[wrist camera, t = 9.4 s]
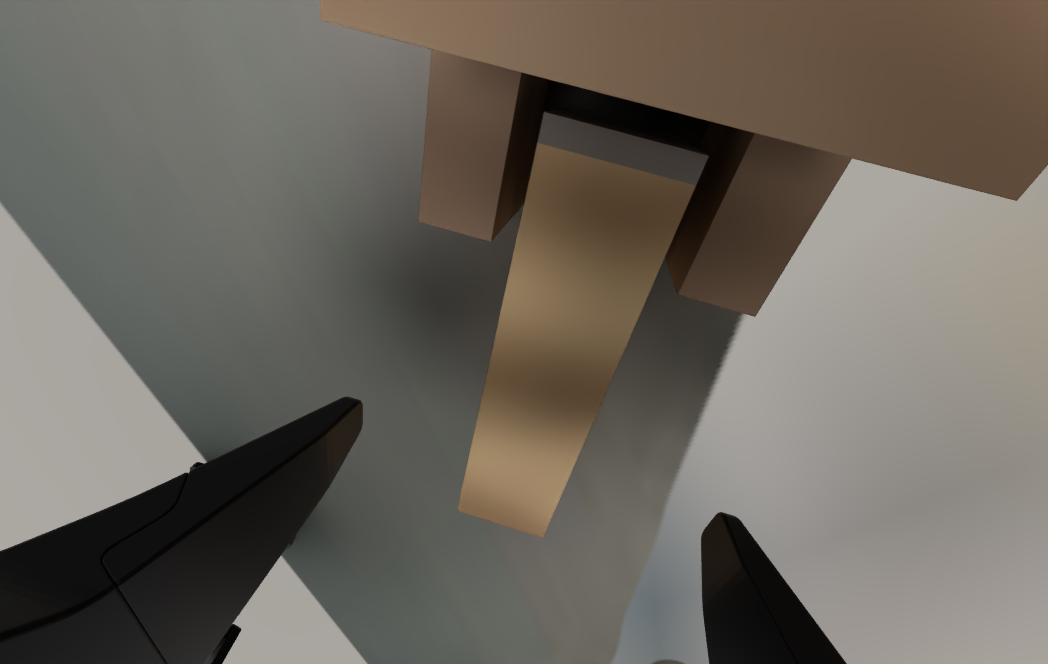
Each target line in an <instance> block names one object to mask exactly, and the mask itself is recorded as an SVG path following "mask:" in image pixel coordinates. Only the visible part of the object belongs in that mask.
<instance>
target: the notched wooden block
mask: <svg viewBox="0 0 1048 664" xmlns="http://www.w3.org/2000/svg"><path fill="white" fill-rule="evenodd" d="M320 7H321V20H322V21H326V22H330V23H334V24H337V25H341V26H345V27H349V28H352V29H356V30H360V31H364V32H368V33H372V34H375V35H379V36H383V37H387V38H391V39H395V40H398V41H402V42H406V43H410V44H414V45H418V46H422V47H425V48H429V49H432V54H431V67H430V79H429V92H428V105H427V118H426V130H425V143H424V156H423V168H422V181H421V194H420V207H419V219H418V222H422V223H426V224H429V225H433V226H436V227H440V228H443V229H447V230H450V231H454V232H457V233H461V234H464V235H468V236H472V237H475V238H479V239H482V240H486V241H489V242H491V241H492V240H493V239H494V237H495V236H496V235H497V234H498V233H499V232H500V230H501V229H502V228H503V227H504V226H505V225H506V223H507V222H508V221H509V220H510V219H511V218H512V216H513V215H514V214H515V213H516V212H517V211H518V209H519V208H520V207H521V206H522V205H523V203H524V199H525V194H526V189H527V185H528V180H529V176H530V171H531V166H532V162H533V157H534V152H535V148H536V143H537V138H538V134H539V129H540V124H541V120H542V115H543V110H544V106H545V101H546V97H547V92H548V87H549V83H550V80H553V81H556V82H560V83H564V84H568V85H572V86H576V87H579V88H583V89H587V90H591V91H595V92H599V93H603V94H606V95H610V96H614V97H618V98H622V99H626V100H630V101H633V102H637V103H641V104H645V105H649V106H653V107H657V108H660V109H664V110H668V111H672V112H676V113H680V114H683V115H687V116H691V117H695V118H699V119H703V120H707V121H710V124H709V126H708V128H707V131H706V133H705V136H704V138H703V140H702V143H701V145H700V148H699V150H700V151H702V152H703V153H705V154H707V155H708V156H709V157H708V159H707V161H706V164H705V166H704V168H703V170H702V173H701V175H700V177H699V180H698V182H697V184H696V187H695V189H694V191H693V194H692V196H691V198H690V200H689V203H688V205H687V207H686V210H685V212H684V214H683V217H682V219H681V221H680V223H679V226H678V228H677V230H676V233H675V235H674V237H673V240H672V242H671V244H670V246H669V249H668V251H667V253H666V256H665V257H666V260H667V263H668V266H669V269H670V272H671V275H672V278H673V282H674V285H675V288H676V291H677V294H678V295H680V296H684V297H687V298H691V299H694V300H698V301H701V302H705V303H709V304H712V305H716V306H719V307H723V308H726V309H730V310H733V311H737V312H740V313H744V314H747V315H751V316H754V317H755V316H756V315H757V313H758V311H759V310H760V308H761V306H762V305H763V303H764V302H765V300H766V298H767V297H768V295H769V293H770V292H771V290H772V289H773V287H774V285H775V283H776V282H777V280H778V278H779V277H780V275H781V274H782V272H783V271H784V269H785V267H786V266H787V264H788V262H789V261H790V259H791V257H792V256H793V254H794V253H795V251H796V249H797V247H798V246H799V244H800V243H801V241H802V239H803V238H804V236H805V235H806V233H807V231H808V229H809V228H810V226H811V225H812V223H813V221H814V220H815V218H816V217H817V215H818V213H819V211H820V210H821V208H822V207H823V205H824V203H825V202H826V200H827V199H828V197H829V195H830V194H831V192H832V190H833V189H834V187H835V185H836V184H837V182H838V181H839V179H840V177H841V175H842V174H843V172H844V171H845V169H846V168H847V166H848V164H849V163H850V161H851V159H852V158H853V159H857V160H861V161H864V162H868V163H873V164H876V165H880V166H884V167H888V168H892V169H895V170H900V171H903V172H907V173H911V174H915V175H919V176H922V177H926V178H930V179H934V180H938V181H941V182H945V183H949V184H953V185H957V186H961V187H965V188H969V189H973V190H976V191H980V192H984V193H988V194H992V195H996V196H1000V197H1004V198H1008V199H1012V200H1016V201H1017V200H1018V199H1019V197H1020V196H1021V195H1022V194H1023V193H1024V192H1025V191H1026V190H1027V188H1028V187H1029V186H1030V185H1031V184H1032V183H1033V181H1034V180H1035V179H1036V178H1037V177H1038V175H1039V174H1040V173H1041V172H1042V171H1043V170H1044V169H1045V167H1046V166H1047V165H1048V0H320Z"/></svg>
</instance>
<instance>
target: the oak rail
mask: <svg viewBox="0 0 1048 664" xmlns="http://www.w3.org/2000/svg"><path fill="white" fill-rule="evenodd" d="M708 157H709V156H708V155H707V154H705V153H703V152H702V151H700V150H699V149H697V148H695V147H694V146H692V145H690V144H689V143H687V142H685V141H684V140H682V139H681V138H679V137H677V136H675V135H671V134H667V133H663V132H659V131H656V130H652V129H648V128H644V127H641V126H637V125H633V124H629V123H626V122H622V121H618V120H614V119H610V118H607V117H603V116H599V115H595V114H592V113H588V112H584V111H580V110H576V109H573V108H569V107H566V108H561V109H556V110H551V111H546V112H544V115H543V120H542V124H541V129H540V134H539V138H538V143H537V147H536V152H535V156H534V161H533V166H532V170H531V175H530V179H529V184H528V189H527V193H526V198H525V202H524V207H523V211H522V216H521V221H520V225H519V230H518V234H517V239H516V244H515V248H514V253H513V257H512V262H511V266H510V271H509V276H508V280H507V285H506V289H505V294H504V299H503V303H502V308H501V312H500V317H499V321H498V326H497V331H496V335H495V340H494V344H493V349H492V354H491V358H490V363H489V367H488V372H487V376H486V381H485V386H484V390H483V395H482V399H481V404H480V409H479V413H478V418H477V422H476V427H475V431H474V436H473V441H472V445H471V450H470V454H469V459H468V464H467V468H466V473H465V477H464V482H463V486H462V491H461V496H460V500H459V505H458V509H457V511H460V512H463V513H467V514H470V515H473V516H476V517H479V518H482V519H485V520H488V521H492V522H495V523H498V524H501V525H504V526H507V527H510V528H513V529H516V530H520V531H523V532H526V533H529V534H532V535H535V536H538V537H541V538H543V536H544V534H545V532H546V530H547V527H548V525H549V523H550V520H551V518H552V516H553V513H554V511H555V509H556V507H557V504H558V502H559V500H560V497H561V495H562V493H563V490H564V488H565V486H566V484H567V481H568V479H569V477H570V474H571V472H572V470H573V467H574V465H575V463H576V461H577V458H578V456H579V454H580V451H581V449H582V447H583V444H584V442H585V440H586V437H587V435H588V433H589V431H590V428H591V426H592V424H593V421H594V419H595V417H596V414H597V412H598V410H599V408H600V405H601V403H602V401H603V398H604V396H605V394H606V391H607V389H608V387H609V385H610V382H611V380H612V378H613V375H614V373H615V371H616V368H617V366H618V364H619V362H620V359H621V357H622V355H623V352H624V350H625V348H626V345H627V343H628V341H629V339H630V336H631V334H632V332H633V329H634V327H635V325H636V322H637V320H638V318H639V315H640V313H641V311H642V309H643V306H644V304H645V302H646V299H647V297H648V295H649V292H650V290H651V288H652V286H653V283H654V281H655V279H656V276H657V274H658V272H659V269H660V267H661V265H662V263H663V260H664V258H665V256H666V253H667V251H668V249H669V246H670V244H671V242H672V240H673V237H674V235H675V233H676V230H677V228H678V226H679V223H680V221H681V219H682V217H683V214H684V212H685V210H686V207H687V205H688V203H689V200H690V198H691V196H692V194H693V191H694V189H695V187H696V184H697V182H698V180H699V177H700V175H701V173H702V170H703V168H704V166H705V164H706V161H707V159H708Z"/></svg>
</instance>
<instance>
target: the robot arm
mask: <svg viewBox="0 0 1048 664" xmlns="http://www.w3.org/2000/svg"><path fill="white" fill-rule="evenodd" d="M362 424H363V404H362V402H361V401H360V400H358V399H354V398H351V397H343V398H341V399H338V400H336V401H334V402H332V403H330V404H328V405H326V406H324V407H322V408H320V409H318V410H316V411H313V412H311V413H309V414H307V415H305V416H303V417H301V418H299V419H297V420H295V421H293V422H291V423H288V424H286V425H284V426H282V427H280V428H278V429H276V430H274V431H272V432H270V433H268V434H265V435H263V436H261V437H259V438H257V439H255V440H253V441H251V442H249V443H247V444H245V445H243V446H240V447H238V448H236V449H234V450H232V451H230V452H228V453H226V454H224V455H222V456H220V457H217V458H215V459H213V460H211V461H209V462H207V463H205V464H203V463H200V462H197V463H195V464H194V465H193V466H192V467H191V468H190V472H189V473H184V474H182V475H180V476H178V477H175V478H173V479H171V480H169V481H167V482H165V483H163V484H161V485H158V486H156V487H154V488H152V489H150V490H148V491H146V492H143V493H141V494H139V495H137V496H134V497H132V498H130V499H127V500H125V501H123V502H120V503H118V504H116V505H113V506H111V507H108V508H106V509H104V510H101V511H99V512H96V513H94V514H92V515H89V516H87V517H84V518H82V519H79V520H77V521H74V522H72V523H69V524H67V525H65V526H62V527H59V528H57V529H54V530H52V531H49V532H47V533H45V534H42V535H40V536H37V537H35V538H32V539H30V540H27V541H25V542H22V543H20V544H17V545H15V546H13V547H10V548H8V549H5V550H2V551H0V664H222V663H223V661H224V659H225V658H226V656H227V654H228V652H229V651H230V649H231V647H232V645H233V643H234V642H235V640H236V638H237V637H238V635H239V633H240V631H241V628H239V627H238V626H236V625H235V624H232V623H233V622H234V621H235V619H236V618H237V616H238V615H239V614H240V612H241V611H242V609H243V608H244V606H245V605H246V604H247V602H248V601H249V599H250V598H251V597H252V595H253V594H254V592H255V591H256V590H257V588H258V587H259V585H260V584H261V583H262V581H263V580H264V578H265V577H266V576H267V574H268V573H269V571H270V570H271V568H272V567H273V566H274V564H275V563H276V561H277V560H278V558H279V557H280V556H281V554H282V553H283V552H284V550H285V549H286V548H289V547H290V546H291V545H292V543H293V538H294V536H295V535H296V533H297V532H298V530H299V529H300V528H301V526H302V525H303V523H304V522H305V521H306V519H307V518H308V516H309V515H310V514H311V512H312V511H313V509H314V508H315V507H316V505H317V504H318V502H319V501H320V500H321V498H322V497H323V495H324V494H325V492H326V491H327V489H328V488H329V486H330V485H331V483H332V481H333V480H334V478H335V476H336V474H337V473H338V471H339V469H340V467H341V465H342V464H343V462H344V460H345V458H346V457H347V455H348V453H349V451H350V449H351V448H352V446H353V444H354V442H355V440H356V439H357V437H358V435H359V433H360V431H361V429H362ZM701 562H702V602H703V615H704V624H705V632H706V641H707V648H708V657H709V664H846V662H845V661H844V659H843V658H842V657H841V656H840V654H839V653H838V651H837V650H836V649H835V648H834V646H833V645H832V643H831V642H830V641H829V639H828V638H827V637H826V636H825V634H824V633H823V631H822V630H821V628H820V627H819V626H818V624H817V623H816V622H815V621H814V619H813V618H812V616H811V615H810V614H809V612H808V611H807V610H806V608H805V607H804V606H803V604H802V603H801V602H800V600H799V599H798V598H797V596H796V595H795V593H794V592H793V591H792V589H791V588H790V587H789V585H788V584H787V583H786V581H785V580H784V579H783V577H782V576H781V575H780V573H779V572H778V571H777V569H776V568H775V567H774V565H773V564H772V562H771V561H770V560H769V558H768V557H767V556H766V554H765V553H764V552H763V550H762V549H761V548H760V546H759V545H758V544H757V542H756V541H755V540H754V538H753V537H752V536H751V534H750V533H749V531H748V530H747V529H746V527H745V526H744V525H743V523H742V522H741V521H740V520H739V519H738V518H737V517H735V516H732V515H729V514H726V513H723V512H720V513H717V514H716V515H715V517H714V518H713V519H712V520H711V522H710V523H709V524H708V526H707V527H706V528H705V529H704V531H703V533H702V537H701Z"/></svg>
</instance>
